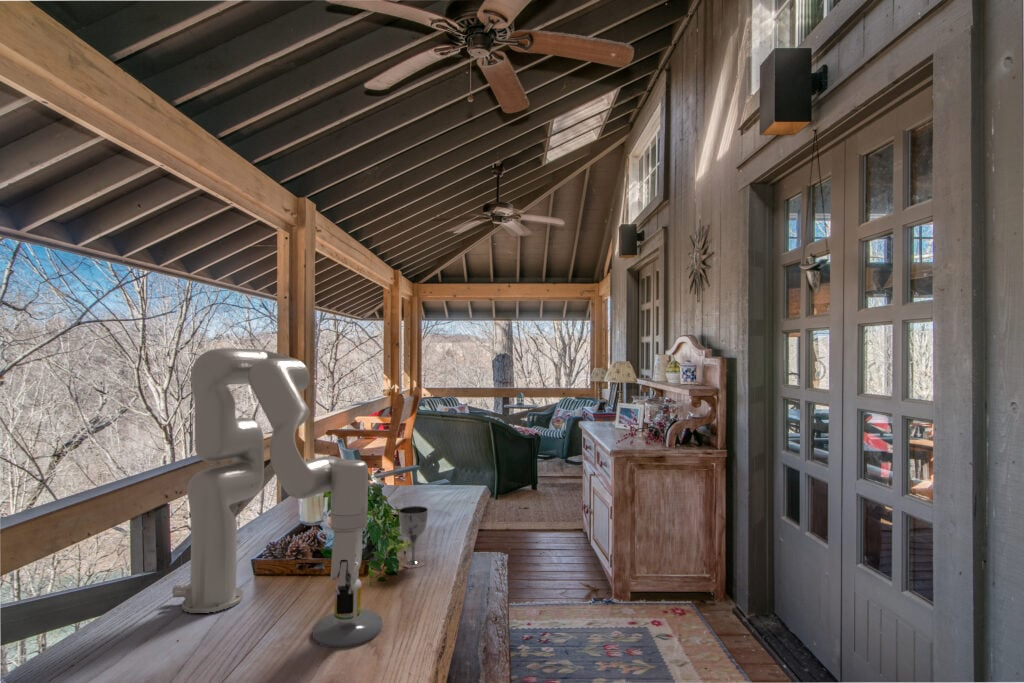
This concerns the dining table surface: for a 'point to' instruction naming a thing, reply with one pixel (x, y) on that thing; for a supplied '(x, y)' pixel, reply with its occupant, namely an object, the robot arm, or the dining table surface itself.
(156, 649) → the dining table surface
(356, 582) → the supplement bottle
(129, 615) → the dining table surface
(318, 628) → the smooth grey river stone
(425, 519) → the wine glass
